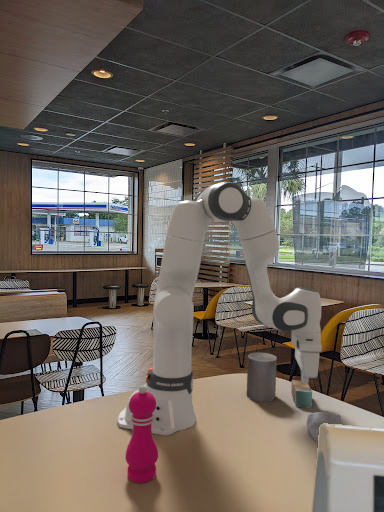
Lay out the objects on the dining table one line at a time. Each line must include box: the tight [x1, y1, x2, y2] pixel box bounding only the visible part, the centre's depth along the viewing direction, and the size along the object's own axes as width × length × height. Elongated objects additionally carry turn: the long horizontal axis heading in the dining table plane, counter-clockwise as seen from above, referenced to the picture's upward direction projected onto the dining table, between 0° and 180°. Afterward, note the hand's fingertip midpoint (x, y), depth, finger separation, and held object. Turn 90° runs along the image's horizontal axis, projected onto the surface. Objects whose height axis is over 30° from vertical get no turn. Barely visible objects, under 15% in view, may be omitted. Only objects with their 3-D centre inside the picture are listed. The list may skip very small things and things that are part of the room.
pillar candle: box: [246, 351, 277, 403], centre depth 131 cm, size 10×10×15 cm
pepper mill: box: [125, 385, 159, 484], centre depth 86 cm, size 7×7×20 cm
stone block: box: [306, 411, 345, 442], centre depth 107 cm, size 12×5×10 cm
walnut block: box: [290, 379, 313, 408], centre depth 128 cm, size 5×5×10 cm
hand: (304, 382), depth 122 cm, fingers closed
